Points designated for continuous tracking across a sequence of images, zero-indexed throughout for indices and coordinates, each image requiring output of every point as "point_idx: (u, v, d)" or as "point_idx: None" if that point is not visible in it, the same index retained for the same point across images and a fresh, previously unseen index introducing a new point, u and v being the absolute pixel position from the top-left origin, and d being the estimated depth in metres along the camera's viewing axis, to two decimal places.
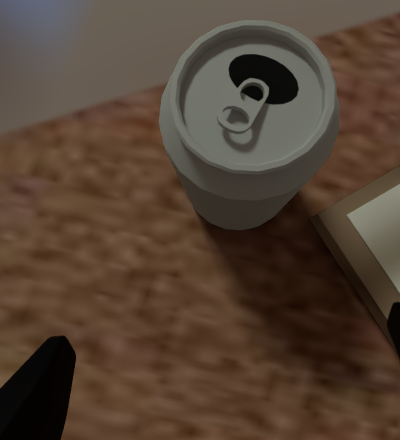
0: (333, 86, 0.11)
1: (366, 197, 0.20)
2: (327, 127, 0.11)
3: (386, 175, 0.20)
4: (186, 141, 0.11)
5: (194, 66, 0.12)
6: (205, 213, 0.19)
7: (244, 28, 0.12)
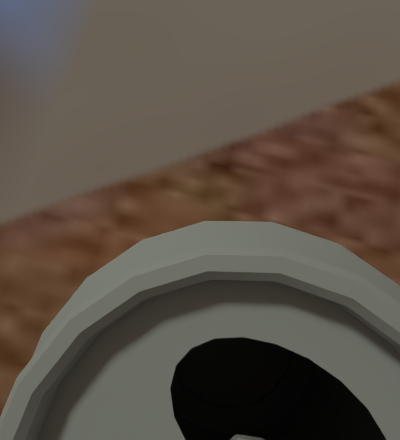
0: None
1: None
2: None
3: None
4: None
5: (72, 378, 0.04)
6: None
7: (210, 275, 0.04)
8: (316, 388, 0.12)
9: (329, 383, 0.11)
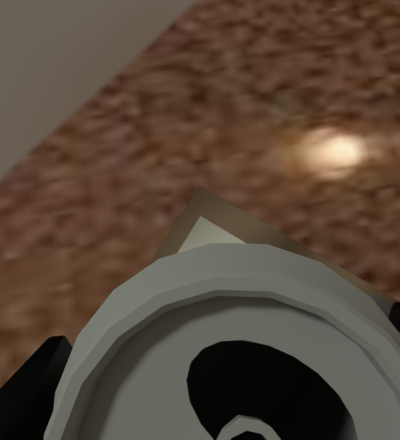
0: None
1: None
2: None
3: None
4: None
5: (108, 372, 0.05)
6: None
7: (218, 292, 0.05)
8: (309, 382, 0.13)
9: (320, 378, 0.12)
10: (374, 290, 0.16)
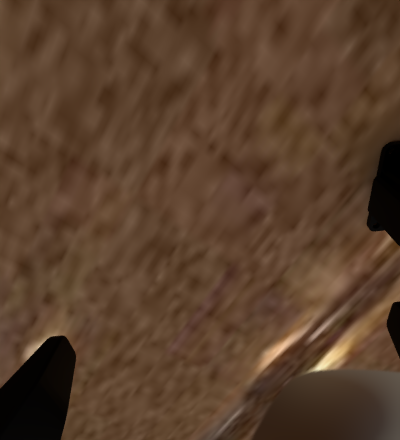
0: None
1: None
2: None
3: None
4: None
5: None
6: None
7: None
8: None
9: None
10: None
